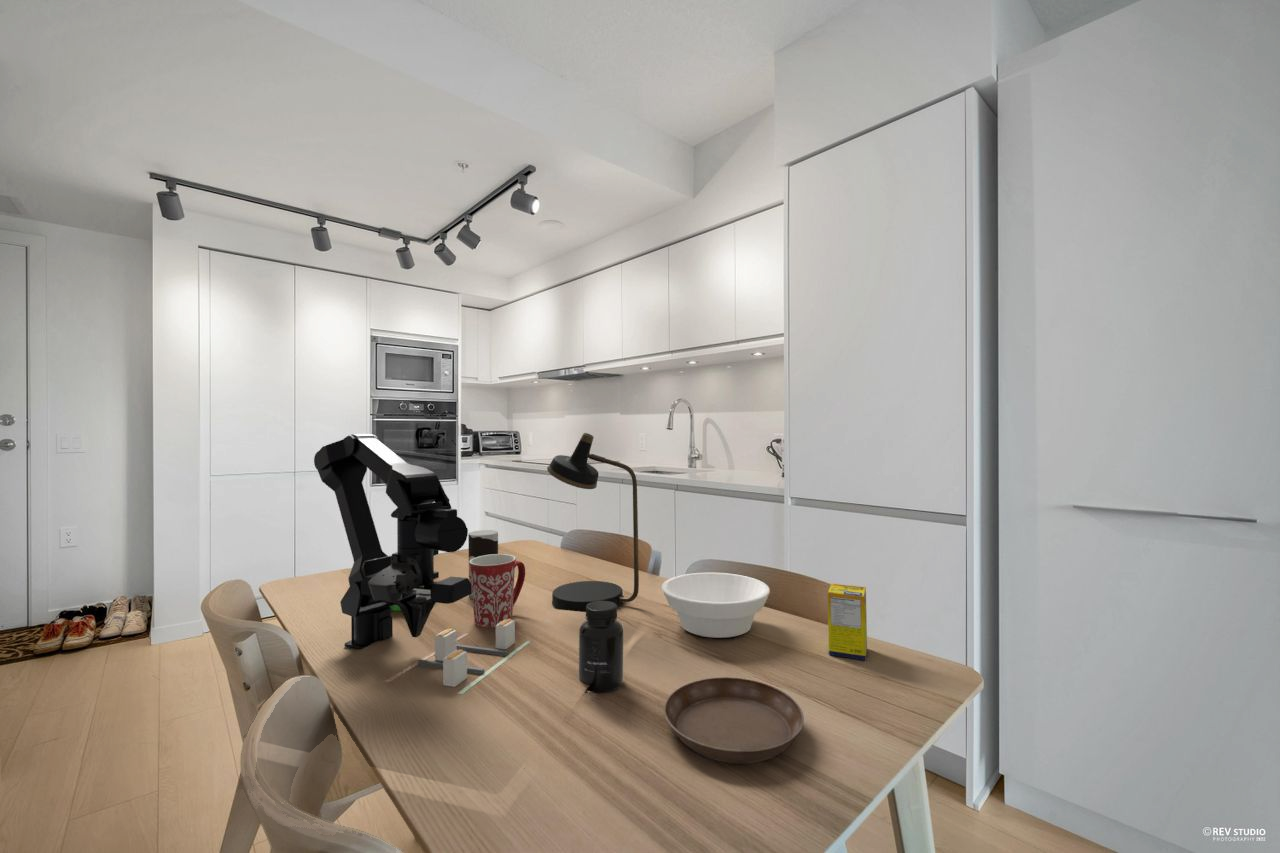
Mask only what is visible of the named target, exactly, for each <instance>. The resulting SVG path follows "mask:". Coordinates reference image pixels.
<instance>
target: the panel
mask: <svg viewBox="0 0 1280 853" xmlns="http://www.w3.org/2000/svg"><path fill="white" fill-rule="evenodd" d="M468 635H469V633H467V632H465V633H463V634H462V635H460V636H458V637H457V642H458V641H459V640H462V639H463V638H465V637H466V636H468ZM531 642H532V641H531V640H526V641H525V642H523V643H522V644H521V645H520V646H518V647H517V648H516V649H514V650H512V651H511V652H510V653H509V650H505V649H498V648H495V649H494V648H488V647H481V646H473V645H466V644H465V645H464V644H457V650H459V649H460V650H463V651H466V652H470V653H471V652H472V653H478V654H479V653H480V654H487V655H493V656H494V655H495V656H502V657H504V658H502V659H501V660H499V662H497V663H496V664H494V665H492V667H490V668H489V669H488V670H486V671H485V668H482V667H476V666H475V667H474V666H469V665H467V674H468V673H469V674H476V675H480V676H478V677H477V678H476V679H475V680H473V681H472V682H470V683H469V684H468V685H466V686H465V687H464V688H463V689H461V690H460V691H459V692H457V694H458V695H459V694H460V695H463V694H465V693H466V692H467V691H469V690H470V689H471V688H473V687H474V686H476V685H477V684H478V683H479V682H481V680H483V679H485V678H486V677H487V676H489V675H490V674H491V673H492V672H493V671H495V670H496V669H497V668H498V667H500V666H501V665H502V664H504V663H505V662H506V661H508V660H509V659H510V658H511V657H512V658H513V656H515V654H517V653H518V652H519V651H521V650H522V649H524V648H525V647H526V646H528V644H530V643H531ZM433 656H435V651H433V652H431V653H430V654H428V655H426V656H424V657H422V658H421V659H419V660H417V661H416V662H414V663H413V664H411V665H409V666H407V667H406V668H405V669H402V670H401V671H400V672H397V673H395V675H393V676H391V677H389V678H388V679H386V680H384V682H385V683H390V682H392V681H393V680H395V679H396V678H398V677H401V676H402V675H403V674H405V673H407V672H408V671H410V670H412V669H413V668H415V667H416V666H422V667H429V668H433V669H434V668H435V669H442V670H443V662H442V661H440V662H438V661H434V660H428V659H430V658H431V657H433Z"/></svg>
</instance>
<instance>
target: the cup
mask: <svg viewBox="0 0 1280 853" xmlns="http://www.w3.org/2000/svg"><path fill="white" fill-rule="evenodd" d="M467 539H468V562H469V561H470V560H471V559H473V558H476V557H479V556H484V555H490V554H499V531H497V530H496V529H495V530H492V529H483V530H474V531H471V532H468V535H467ZM468 579H469V580H470V582H471V569H470V564H469V563H468ZM471 584H472V583H471ZM469 598H470V599H469ZM468 599H469V600H471V599H473V596H472V594H470V595H468Z"/></svg>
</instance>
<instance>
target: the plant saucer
mask: <svg viewBox="0 0 1280 853" xmlns="http://www.w3.org/2000/svg"><path fill="white" fill-rule="evenodd" d="M663 711H664V712H663V714H664V716H665V720H666V721H667V723H668V725H669V727H670V728H671V730H672V731H673V732H674V733H675V735H676V736H677V737H678V738H679V739H680V741H681V742H683V743H684V744H685V746H687V747H688V748H690V749H691V750H692V751H694V752H695V753H696V754H699V755H701V756H703V757H706V758H708V759H712V760H715V761H718V762H723V763H730V764H753V763H760V762H763V761H767V760H770V759H772V758H774V757H776V756H778V755H779V754H781V753H783V751H785V750H786V749H787V748H789V746H791V744H793V742H794V741H795V740H796V738H797V737H798V736H799V734H800V732H801V731H802V728H803V727H804V726H803V725H804V723H805V722H804V720H805V719H804V718H805V716H804V713H803V709H802V708H801V707H800V705H799V704H798V703H797V701H796V700H795V699H794V698H793V697H792V696H790V695H789V694H787V693H786V692H785V691H783V690H781V689H779V688H778V687H775V686H772V685H769V684H767V683H763V682H760V681H757V680H753V679H747V678H740V677H725V676H724V677H722V676H721V677H710V678H705V679H700V680H699V679H698V680H694V681H692V682H689V683H687V684H684V685H682V686H680V687H678V688H677V689H674V691H673V692H672V693H671V694H670V695H669V696H668V697H667V698H666V701H665V702H664V707H663Z"/></svg>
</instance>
